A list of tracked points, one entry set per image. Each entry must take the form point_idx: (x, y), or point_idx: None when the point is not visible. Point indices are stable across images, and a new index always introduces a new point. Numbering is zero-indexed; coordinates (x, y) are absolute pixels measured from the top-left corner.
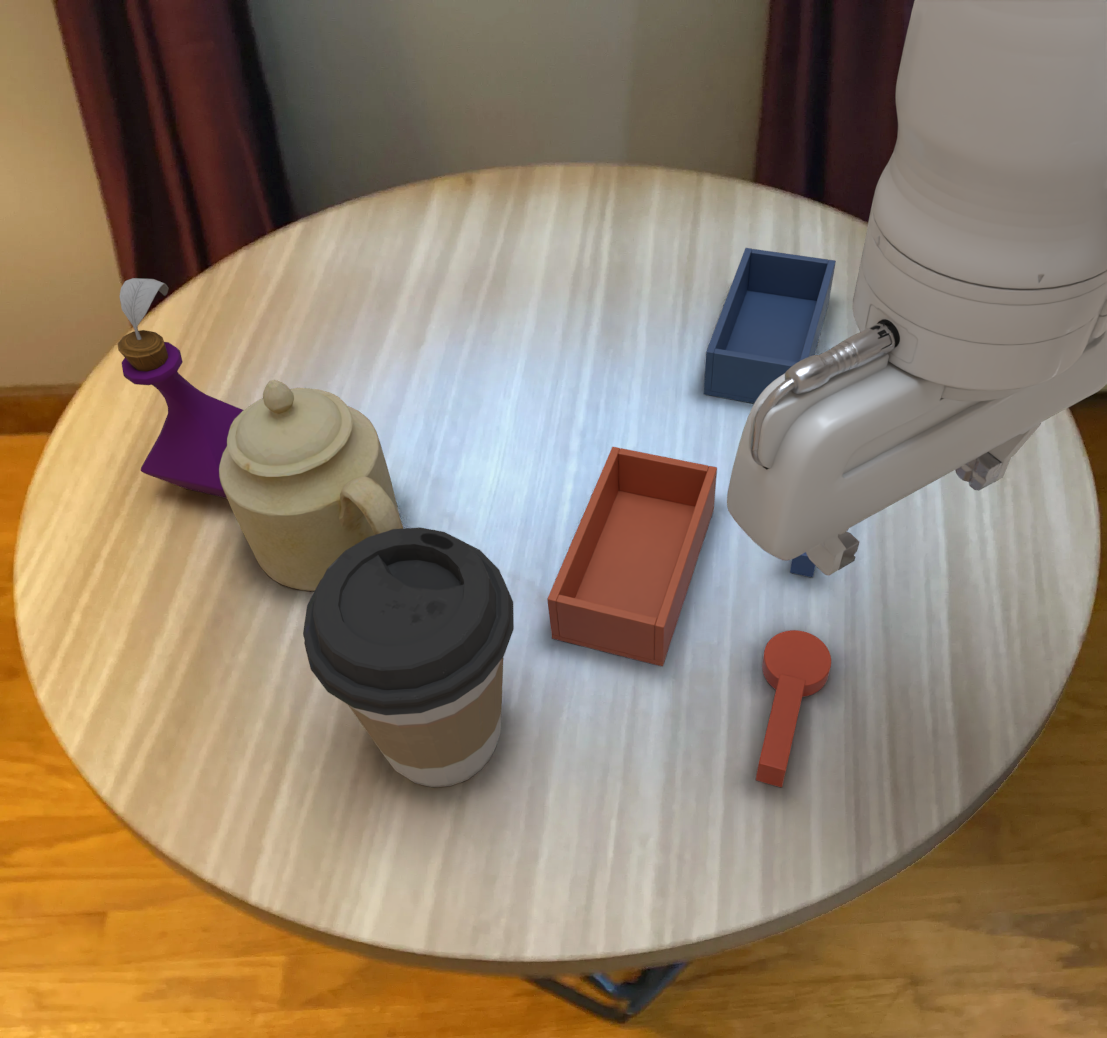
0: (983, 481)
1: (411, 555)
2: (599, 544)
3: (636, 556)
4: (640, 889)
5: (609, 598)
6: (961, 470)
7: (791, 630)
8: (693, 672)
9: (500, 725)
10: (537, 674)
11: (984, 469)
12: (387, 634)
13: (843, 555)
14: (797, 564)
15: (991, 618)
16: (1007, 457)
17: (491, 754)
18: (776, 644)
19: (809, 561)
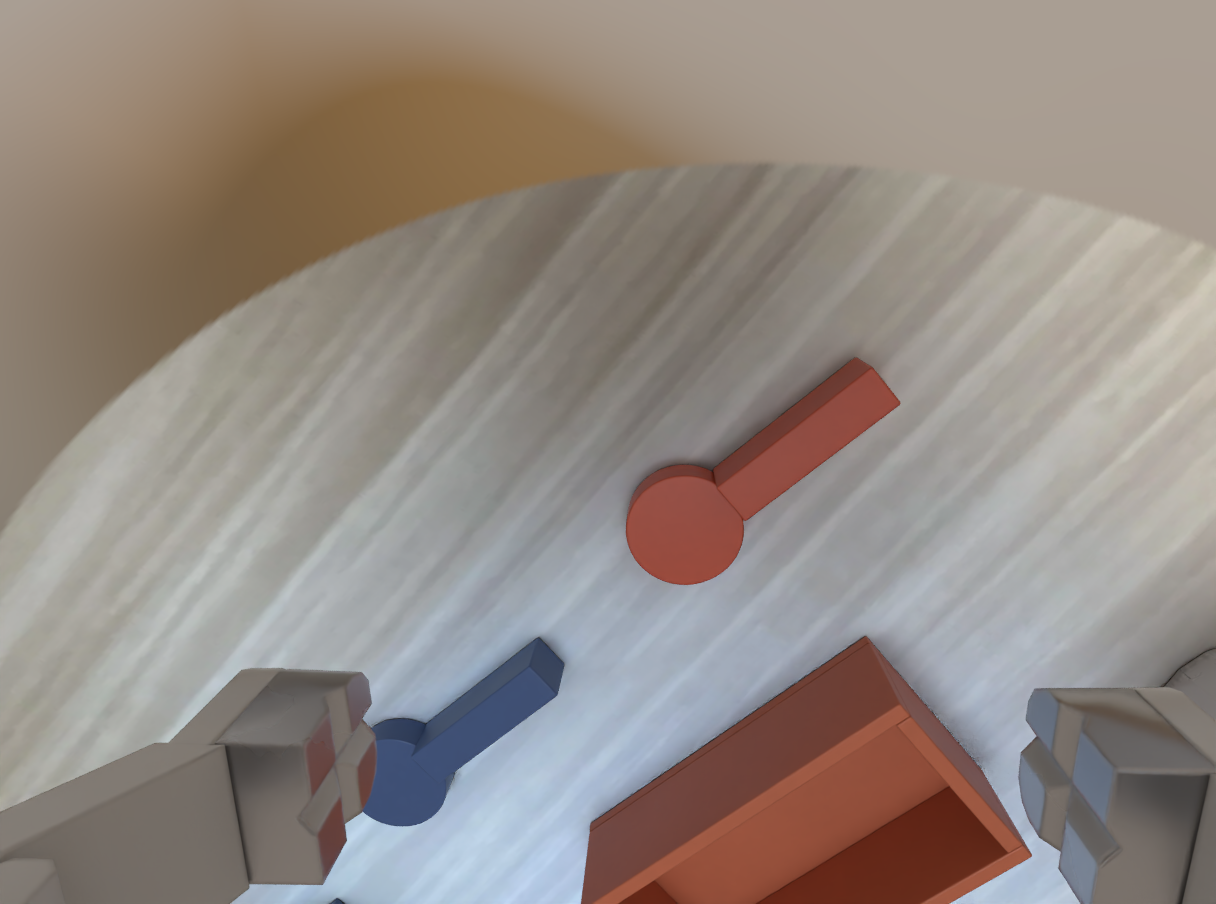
0: (333, 699)
1: None
2: (804, 869)
3: (768, 821)
4: (1173, 336)
5: (860, 781)
6: (362, 776)
7: (657, 577)
8: (829, 601)
9: (1210, 692)
10: None
11: (313, 753)
12: None
13: (1189, 747)
14: (554, 672)
15: (328, 416)
16: (187, 754)
17: (1212, 654)
18: (697, 569)
19: (539, 667)
